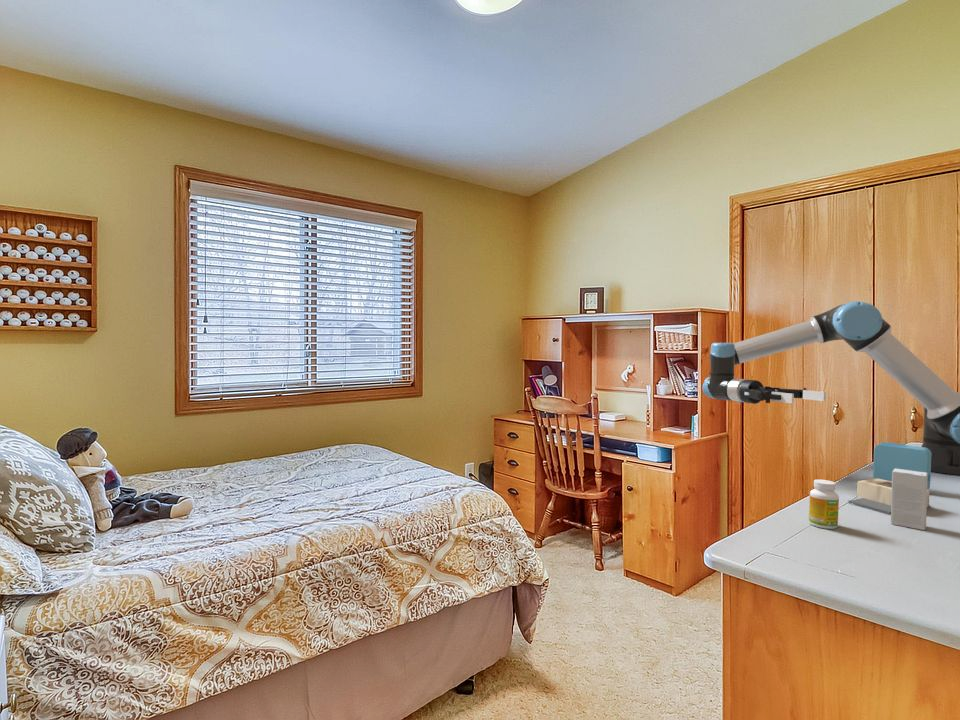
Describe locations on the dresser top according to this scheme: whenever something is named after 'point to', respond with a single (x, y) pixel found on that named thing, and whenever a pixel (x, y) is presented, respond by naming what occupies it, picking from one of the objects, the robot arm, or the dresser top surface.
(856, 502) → the charcoal mat
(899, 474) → the skincare box
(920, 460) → the data package
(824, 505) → the supplement bottle
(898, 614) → the dresser top surface
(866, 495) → the maple block
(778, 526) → the dresser top surface
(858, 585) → the dresser top surface
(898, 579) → the dresser top surface
